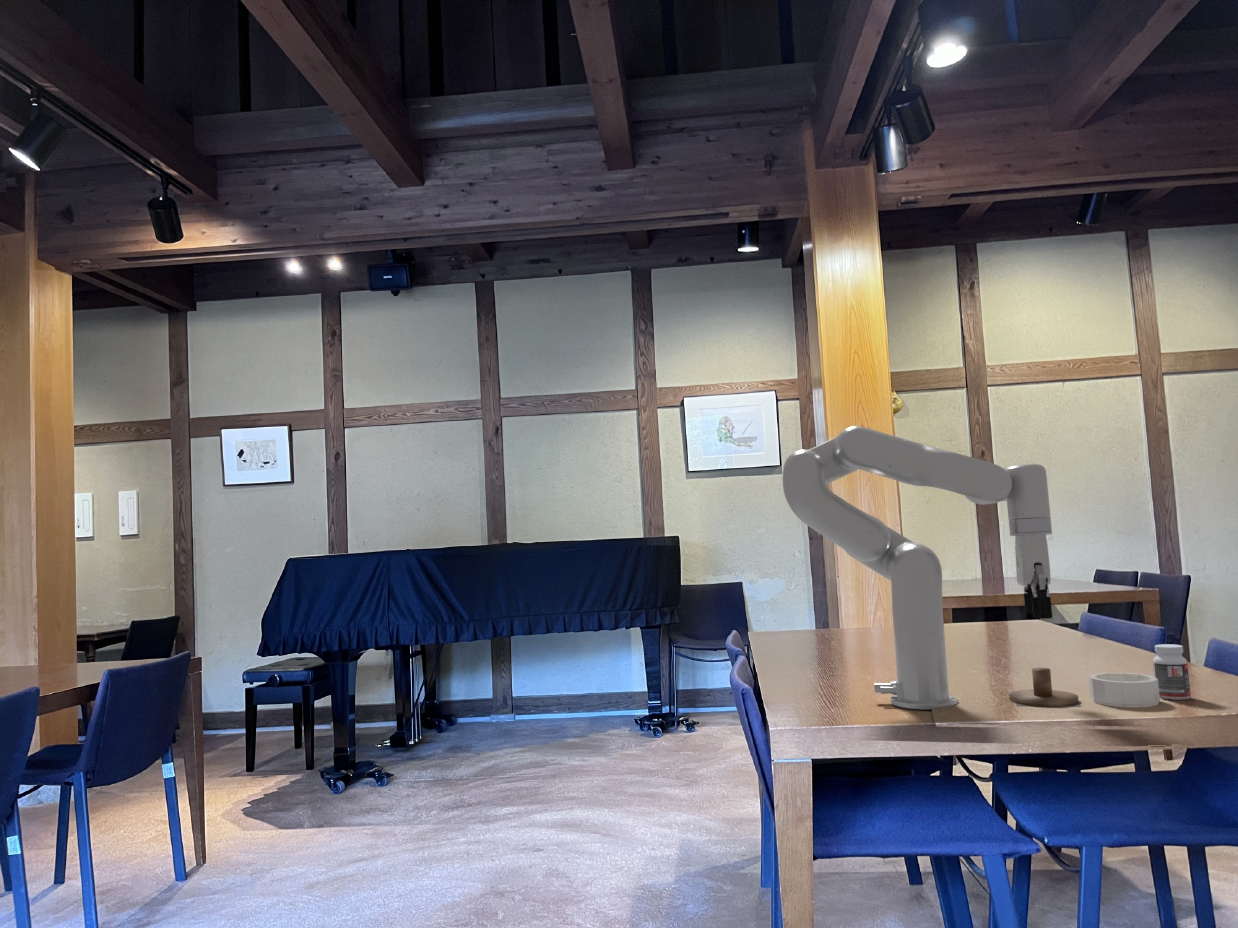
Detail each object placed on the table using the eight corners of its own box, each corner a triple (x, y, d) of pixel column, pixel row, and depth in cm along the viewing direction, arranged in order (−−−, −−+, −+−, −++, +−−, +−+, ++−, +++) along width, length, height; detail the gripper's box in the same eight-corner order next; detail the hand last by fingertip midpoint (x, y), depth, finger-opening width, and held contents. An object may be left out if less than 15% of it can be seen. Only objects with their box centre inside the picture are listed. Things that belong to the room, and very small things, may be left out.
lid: (1014, 706, 166) (1011, 673, 167) (1005, 694, 178) (1003, 664, 178) (1084, 706, 163) (1082, 673, 163) (1071, 694, 174) (1068, 663, 175)
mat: (1017, 708, 166) (1016, 705, 166) (1009, 697, 177) (1008, 694, 177) (1081, 709, 163) (1081, 706, 163) (1069, 698, 174) (1069, 695, 174)
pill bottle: (1196, 700, 167) (1191, 647, 167) (1163, 700, 168) (1158, 647, 169) (1183, 694, 172) (1178, 643, 173) (1151, 695, 173) (1146, 643, 174)
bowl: (1099, 709, 162) (1097, 682, 163) (1086, 698, 173) (1084, 672, 173) (1167, 710, 159) (1164, 682, 160) (1149, 698, 170) (1147, 672, 170)
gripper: (1003, 528, 182) (1011, 611, 181) (1015, 529, 165) (1024, 621, 164) (1043, 526, 180) (1051, 610, 179) (1059, 526, 163) (1068, 620, 162)
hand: (1038, 615), depth 171 cm, fingers open, 9 cm apart
